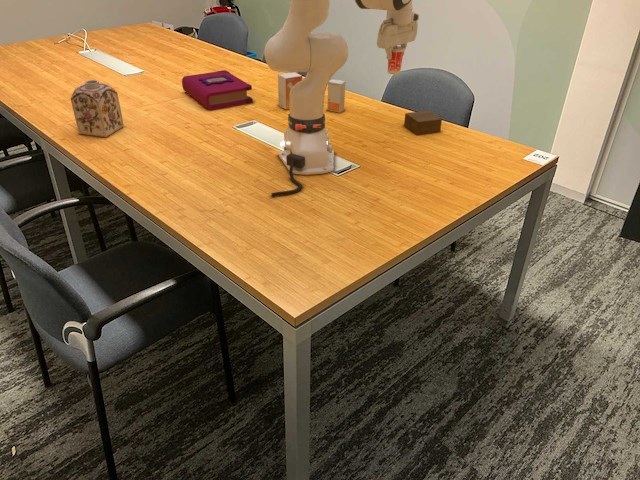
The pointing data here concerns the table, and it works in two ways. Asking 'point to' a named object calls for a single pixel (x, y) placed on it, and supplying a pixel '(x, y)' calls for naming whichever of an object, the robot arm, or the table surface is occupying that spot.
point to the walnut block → (422, 122)
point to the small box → (286, 87)
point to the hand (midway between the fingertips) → (395, 57)
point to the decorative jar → (96, 109)
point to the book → (217, 89)
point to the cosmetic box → (336, 95)
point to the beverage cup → (395, 60)
